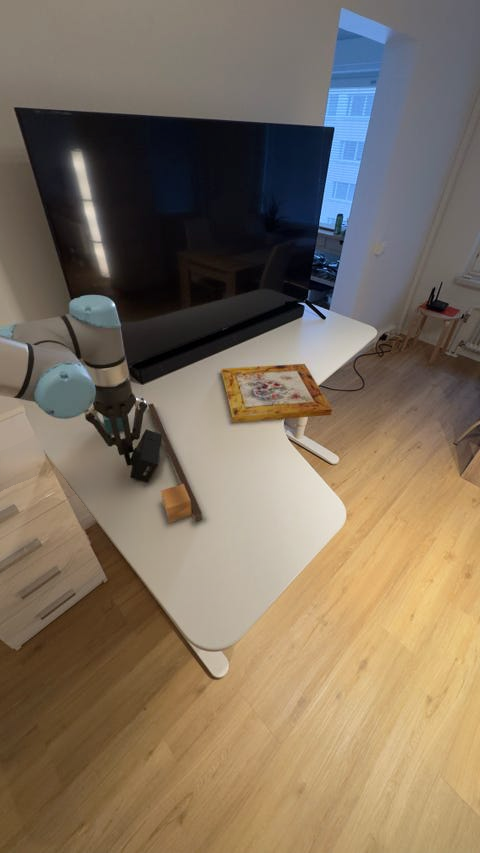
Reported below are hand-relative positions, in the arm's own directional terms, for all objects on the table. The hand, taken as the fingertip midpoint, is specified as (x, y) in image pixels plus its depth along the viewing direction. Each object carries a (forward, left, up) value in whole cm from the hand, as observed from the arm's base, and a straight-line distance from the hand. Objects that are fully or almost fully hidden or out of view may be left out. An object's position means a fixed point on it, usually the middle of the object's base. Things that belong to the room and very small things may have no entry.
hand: (128, 461), depth 83 cm
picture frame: (+48, +16, -3) cm, 51 cm away
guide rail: (+10, 0, -2) cm, 11 cm away
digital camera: (+2, 0, -1) cm, 3 cm away
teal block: (-1, +18, -2) cm, 18 cm away
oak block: (+7, -16, -2) cm, 18 cm away
